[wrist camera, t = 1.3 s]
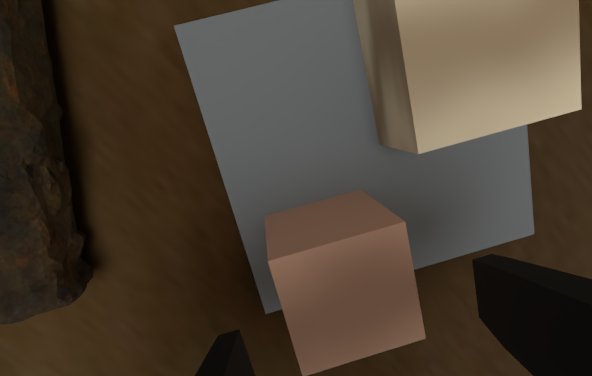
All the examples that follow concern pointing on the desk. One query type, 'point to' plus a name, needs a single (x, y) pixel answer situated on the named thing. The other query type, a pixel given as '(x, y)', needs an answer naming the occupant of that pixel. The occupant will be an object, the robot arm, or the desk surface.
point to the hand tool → (33, 176)
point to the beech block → (467, 67)
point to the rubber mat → (337, 137)
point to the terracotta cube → (343, 280)
